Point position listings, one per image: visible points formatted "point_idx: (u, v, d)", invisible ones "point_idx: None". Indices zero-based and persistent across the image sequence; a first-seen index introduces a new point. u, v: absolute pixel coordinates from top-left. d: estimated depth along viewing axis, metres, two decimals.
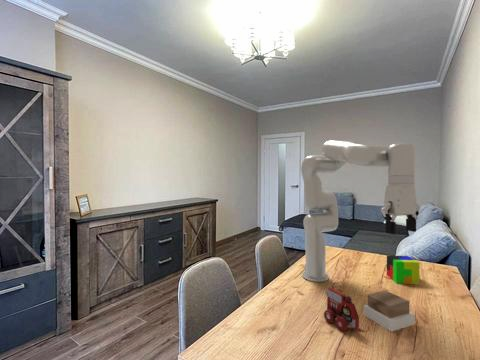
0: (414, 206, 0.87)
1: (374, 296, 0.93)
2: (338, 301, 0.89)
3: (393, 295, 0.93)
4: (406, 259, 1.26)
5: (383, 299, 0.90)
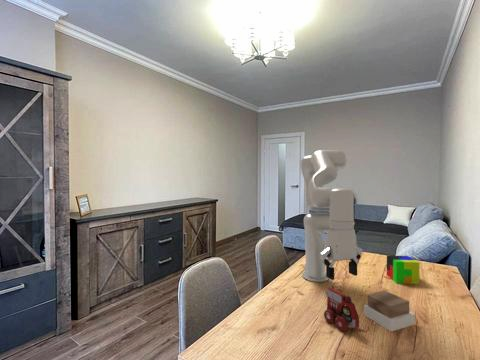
0: (354, 251, 0.88)
1: (374, 296, 0.93)
2: (338, 301, 0.89)
3: (393, 295, 0.93)
4: (406, 259, 1.26)
5: (383, 299, 0.90)
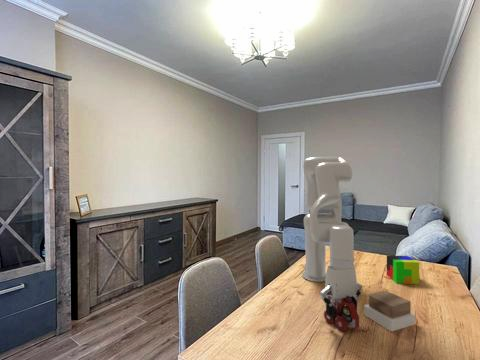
0: (354, 288, 0.88)
1: (375, 296, 0.93)
2: (338, 301, 0.89)
3: (394, 295, 0.93)
4: (406, 259, 1.26)
5: (384, 300, 0.90)
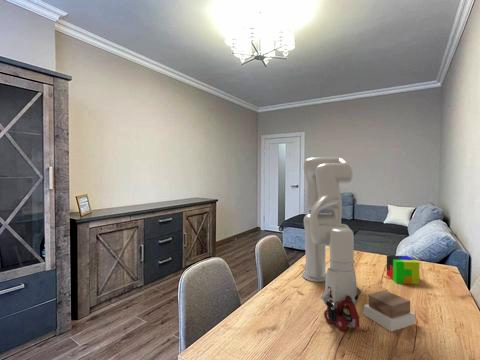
0: (354, 290, 0.88)
1: (375, 296, 0.93)
2: (338, 301, 0.89)
3: (394, 295, 0.93)
4: (406, 259, 1.26)
5: (384, 299, 0.90)
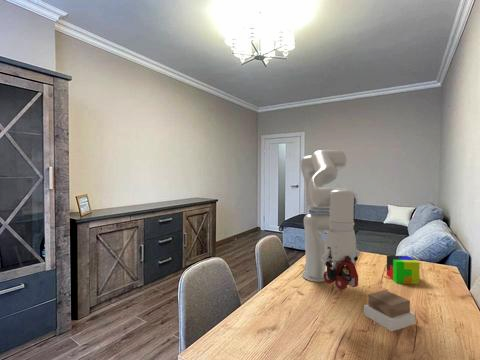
0: (353, 251, 0.88)
1: (375, 296, 0.93)
2: (338, 262, 0.90)
3: (393, 295, 0.94)
4: (406, 259, 1.26)
5: (384, 299, 0.90)
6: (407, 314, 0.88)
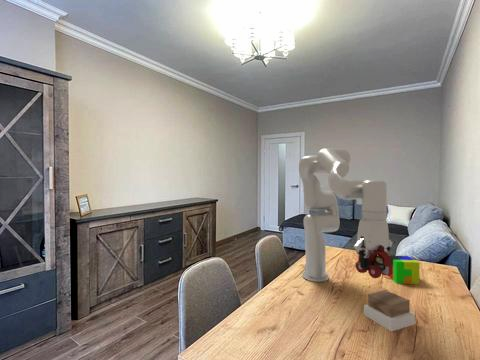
0: (386, 241, 0.90)
1: (375, 296, 0.93)
2: (370, 251, 0.91)
3: (393, 294, 0.94)
4: (406, 259, 1.26)
5: (383, 299, 0.91)
6: (407, 314, 0.88)
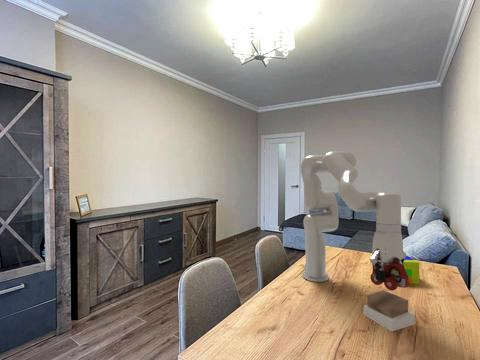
0: (401, 253, 0.91)
1: (374, 296, 0.93)
2: None
3: (392, 295, 0.94)
4: (406, 259, 1.26)
5: (383, 299, 0.90)
6: (407, 314, 0.88)
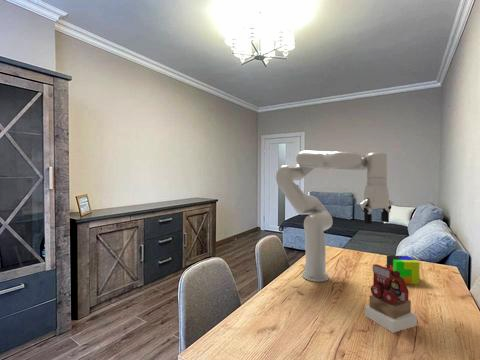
0: (387, 202, 1.10)
1: (376, 297, 0.92)
2: (386, 276, 0.91)
3: None
4: (406, 259, 1.26)
5: (385, 300, 0.90)
6: (409, 315, 0.87)
